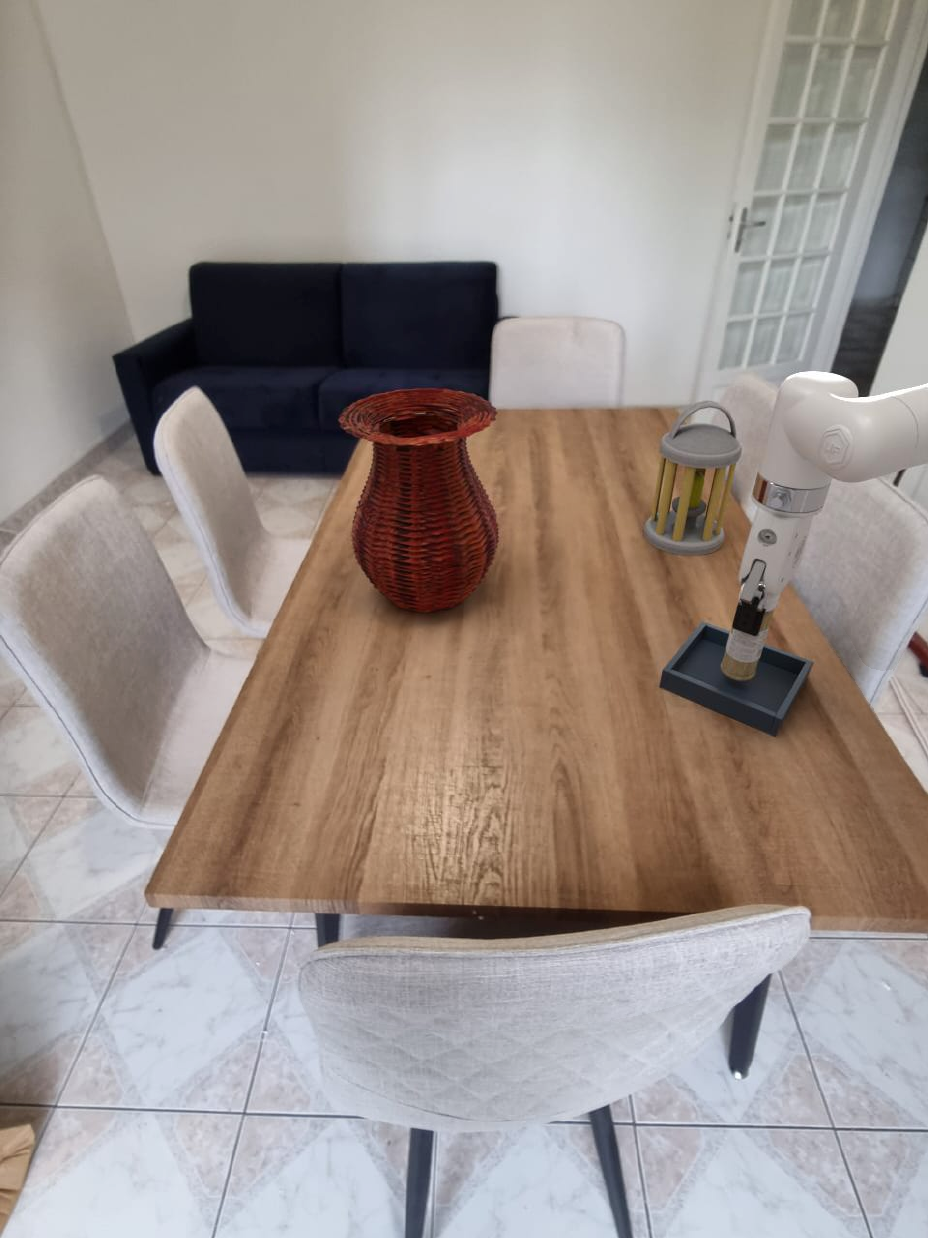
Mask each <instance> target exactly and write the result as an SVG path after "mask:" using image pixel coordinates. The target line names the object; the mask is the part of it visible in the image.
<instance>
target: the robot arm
mask: <svg viewBox="0 0 928 1238" xmlns="http://www.w3.org/2000/svg"><path fill="white" fill-rule="evenodd" d="M771 413H772V414H771V416H770V421H769V425H768V429H767V434H766V438H765V442H764V445H763V450H762V454H761V457H760V462H759V465H758V469H757V472H756V477H755V480H754V485H753V489H752V493H751V496H750V497H751V500H752V503H753V504H754V505H755V506H756V507H757V509H756V512H755V514H754V518H753V521H752V523H751V527H750V531H749V534H748V536H747V541H746V544H745V547H744V550H743V555H742V559H741V562H740V566H739V571H738V575H737V581H738V583H739V585H741V586H742V585H743V584H744V583H745V584H744V587H743V590H742V593H741V596H740V599H738V602H737V605H736V609H735V613H734V616H733V620H732V624H731V628H733V629H736V630H738V631H741V632H744V633H747V634H749V635H752V636H757V635H758V634H759V631H760V628H761V624H762V621H763V618H764V614H765V611H766V609H764V605H765V602H766V599H767V597H768V594H769V593H770V594H772V595H774V596H775V595H778V594H779V593H780V594H781V593H782V592H783V590H785V588H786V586H788V583H789V582H790V581H791V579H792V578H793V576H794V575H795V574H796V572H797V570H798V569H799V567H800V566H801V563H802V560H803V556H804V553H805V549H806V545H807V542H808V538H809V534H810V531H811V527H812V523H813V520H814V516H816V515H818V514H820V513H822V511H823V508H824V506H825V503H826V500H827V497H828V494H829V490H830V487H831V484H832V481H833V480H836V481H839V482H842V483H848V484H849V483H850V484H851V483H852V484H853V483H861V482H867V481H869V480H873V479H877V478H881V477H885V476H887V475H891V474H893V473H896V472H901V471H903V470H907V469H910V468H914V467H918V466H923V465H926V464H928V383H926V384H923V385H919V386H914V387H909V388H905V389H900V390H896V391H892V392H888V393H883V394H878V395H875V396H866V397H865V396H864V397H859V389H858V387H857V385H856V383H855V382H854V381H852V380H851V379H849V378H847V377H845V376H842V375H839V374H836V373H830V372H823V371H805V372H804V371H803V372H798V373H794V374H792V375H790V376H788V377H786V378H785V379H784V380H783V382H782V383H781V384H780V386H779V388H778V391H777V394H776V397H775V403H774V406H773V409H772V412H771ZM761 581H763V582H764V584H765V585H763V584H760V582H761ZM757 591H760V592H762V595H761V598H760V600H759V597H757V596H756V592H757Z"/></svg>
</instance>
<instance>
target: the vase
mask: <svg viewBox="0 0 928 1238" xmlns="http://www.w3.org/2000/svg"><path fill="white" fill-rule="evenodd" d="M492 404H493V403H492V402H491V401H488V400H486V399H484V397H482V396H478V395H476V394H475V393H471V392H464V391H462V390H452V389H447V388H432V387H431V388H412V389H396V390H393V391H387V392H383V393H375V394H372V395H369V396H367V397H365V398H362V399H357V401H355V402H351V404H350V405H349V406H347V407H345V408H343V409H342V413H341V414H340V415H339V418H338V419H337V421H338V422H339V423H340V426H339V427H340V429H342V430H345V432H346V433H347V434H349V435H352V436H353V437H354V438H358V439H362V440H366V441H368V442H371V443H372V444H371V446H372V452H373V453H372V459H371V460H372V462H371V464H370V469H369V472H368V475H367V480H366V481H365V485H364V486H363V489H362V491H361V492H362V494H360V495H359V497H360V499H359V500H358V501H357V504H358V505H357V506H356V507H355V509H356V511H355V512H354V516H353V520H352V527H351V529H350V530H351V532H350V537H351V540H350V542H351V543H352V544H351V545H352V547H351V549H352V550H353V551H352V553H353V555H354V558H355V560H356V561H357V564H358V565H359V566H360V569H361V571H362V572H363V573H364V575H365V576H366V578H367V579H368V580H369V582H370V584H372V585H373V588H374V589H375V590H378V591H379V593H380V594H381V595H382V596H385V597H386V599H387V600H389V601H391V603H393V604H395V606H396V607H398V608H401V609H406V610H411V611H415V612H419V613H430V612H435V611H440V610H447V609H453V608H454V607H456V606H457V605H458V604H460V603H461V602H464V601H465V600H466V599H467V598H468V597H469V596H471V594H472V593H473V592H474V591H475V590H477V586H479V585H480V584H481V583H482V582H483V579H484V578H486V577H487V574H488V572H490V566H492V565H493V564H494V560H495V555H496V553H497V548H498V547H499V546H498V543H499V541H500V540H499V538H500V536H499V534H500V532H499V530H500V528H499V523H498V521H497V520H498V518H497V513H496V509H495V508H494V505H493V504H492V500H490V498H489V497H490V495H489V494H487V490H486V488H484V484H482V480H481V479H479V478H480V476H479V475H477V471H475V469H476V468H475V467H474V465H473V464H472V459H470V455H469V451H468V447H467V439H468V437H469V438H470V437H471V436H472V435H474V434H476V433H481V432H483V431H484V430H485V429H487V428H489V427H491V425H492V423H494V422H495V421H496V420H497V419H496V416H497V414H499V413H498V411H497V407H495V406H494V405H492Z"/></svg>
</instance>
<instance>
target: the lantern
mask: <svg viewBox="0 0 928 1238" xmlns="http://www.w3.org/2000/svg"><path fill="white" fill-rule="evenodd" d="M709 408H710V409H711V408H712V409H716V410H719V411H721V412H722V413H723V414H724V415H725V416H726V418H727V421H728V423H729V428H730V430H728V429H726V428H724V427H721V426H719V425H716V424H713V423H706V422H693V423H692V422H691V423H686V424H683V423H684V422H685V421H686V420H687V419H688V418H689V417H690V416H692V415H693V414H695V413H696V412H698V411H700V410H704V409H709ZM742 450H743V447H742V445H741V442H740V440H739V439H738V438H737V429H736V423H735V420H734V418H733V416H732V414H731V413H730V411H729V410H728V409H727V407H725V406H724V405H722V404H721V403H720V402H718V401H715V400H714V401H713V400H708V399H707V400H702V401H697V402H695V403H693V404H691V405H690V406H688V407H686V408H685V409H684V410H683V411H682V412H681V413H680V414H679V415H678V417H677V418H676V419H675V421H674V423H673V424H672V426H671V428H670V429H669V432H666V433H665V434H664V435H663V436H662V438H661V439H660V443H659V454H660V459H659V460H660V461H659V466H658V471H657V472H658V473H657V478H656V485H655V491H654V497H653V504H652V510H651V516H650V517H649V518H648V519H647V520H646V522H645V523H644V528H643V536H644V538H645V540H646V541H647V542H648V543H649V544H650V545H652V546H653V547H655V548H656V549H658V550H661V551H663V552H666V553H668V554H669V553H670V554H673V555H678V556H688V557H695V556H696V557H697V556H704V555H705V556H706V555H708V554H712V553H714V552H716V551H717V550H718V549H720V548H721V547H722V545H723V543H724V541H725V537H726V536H725V531H724V528H723V527H722V526H723V523H724V517H725V514H726V509H727V505H728V501H729V496H730V493H731V488H732V483H733V480H734V474H735V472H736V471H735V470H736V467H737V463H738V462H739V460H740V459H741V456H742ZM679 465H680V466H682V467H684V472H683V479H682V483H681V488H680V495H679V496H677V497H675V498H673V495H674V488H675V484H676V483H675V482H676V476H677V471H678V466H679ZM728 467H729V468H728ZM727 468H728V472H727ZM665 469H666V470H665ZM711 469H714V474H713V478H712V483H711V487H710V492H709V497H708V500H707V503H706V502H705V501H704V500H702V495H703V490H704V484H705V477H706V471H707V470H711ZM726 472H727V478H726V481H725V476H726ZM664 476H665V477H664ZM724 481H725V484H724ZM723 485H725V486H724V490H723ZM662 487H663V488H662ZM722 490H723V494H722ZM721 495H722V499H721V503H720V498H721ZM672 498H673V499H672ZM719 503H720V508H719V513H718V517H717V519H716V516H717V512H718V507H719ZM659 506H660V507H659ZM671 508H672V509H671ZM704 513H705V514H704Z"/></svg>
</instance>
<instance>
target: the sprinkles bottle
mask: <svg viewBox="0 0 928 1238" xmlns="http://www.w3.org/2000/svg"><path fill="white" fill-rule="evenodd" d="M744 584H745V583H744ZM744 584H743V585H741V587H740V590H739V594H738V598H737V599H738V600H739V599H740V596H741V593H742V590H743V587H744ZM760 584H763V585H765V584H764V582H763V581H761V582H760ZM761 595H762V592H760V591H757V592H756V596H757V597H759V600H760V598H761ZM780 597H781V593H779V594H778V595H775V596H774V595H772V594H770V593H769V594H768V597H767V599H766V602H765V605H764V609H766V611H765V614H764V618H763V621H762V624H761V628H760V631H759V634H758V635H757V636H752V635H749V634H747V633H744V632H741V631H738V630H736V629H733V628H732V627H731V629H730V630H729V631H730V634H729V637H728V641H727V645H726V651H725V655H724V658H723V661H722V663H721V670H722V672H723V673H724V674H725V675H726V676H728V677H730V678H732V679H734V680H738V681H746V680H750V679H752V678H753V677H754V675H755V672H756V666H757V663H758V660H759V658H760V656H761V653H762V649H763V646H764V644H766V640H767V636H768V634H769V629H770V626H771V621H772V618H773V615H774V612H775V610H776V608H777V607H778V604H779V601H780Z"/></svg>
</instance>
